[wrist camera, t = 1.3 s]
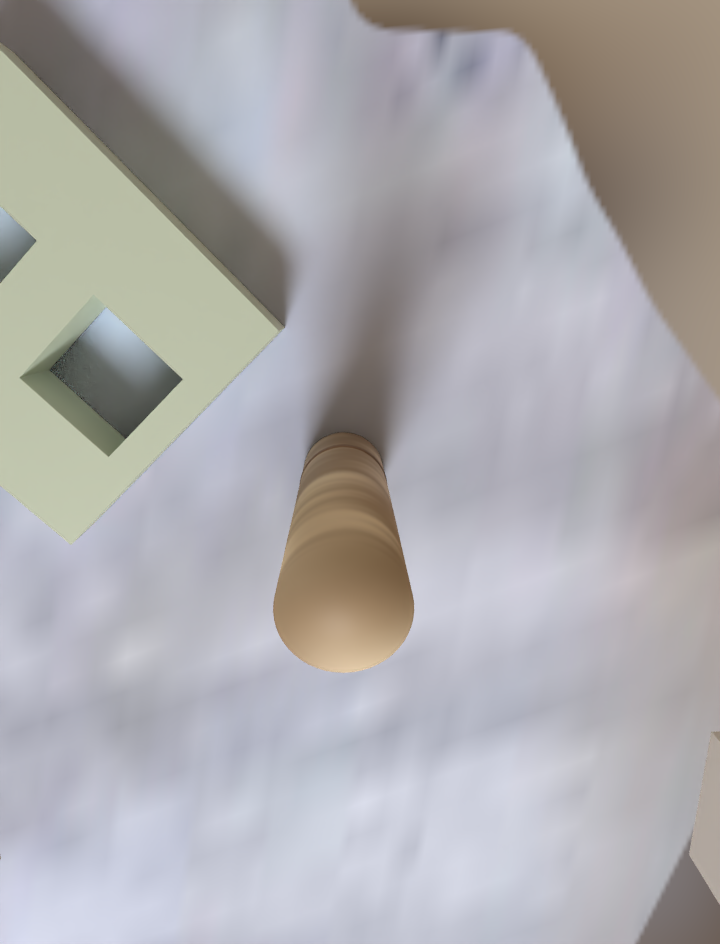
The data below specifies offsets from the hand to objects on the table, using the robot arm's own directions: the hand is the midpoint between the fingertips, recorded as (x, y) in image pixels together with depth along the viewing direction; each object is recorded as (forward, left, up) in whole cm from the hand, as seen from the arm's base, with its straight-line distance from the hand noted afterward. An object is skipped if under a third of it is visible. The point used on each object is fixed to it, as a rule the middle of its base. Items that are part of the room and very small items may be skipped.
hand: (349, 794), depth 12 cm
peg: (0, 0, -22) cm, 22 cm away
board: (-15, -4, -22) cm, 27 cm away
